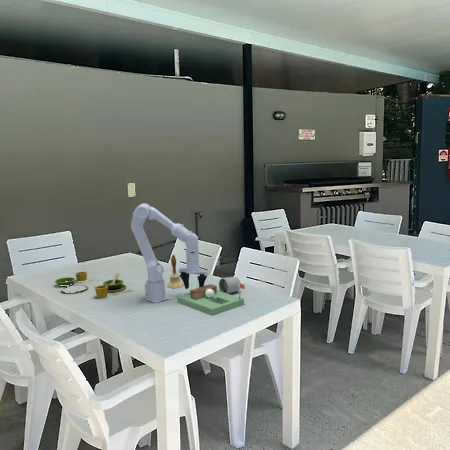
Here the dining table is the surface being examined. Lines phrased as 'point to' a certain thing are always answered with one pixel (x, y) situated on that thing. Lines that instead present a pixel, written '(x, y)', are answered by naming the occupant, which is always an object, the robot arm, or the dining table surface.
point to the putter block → (202, 291)
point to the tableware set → (100, 290)
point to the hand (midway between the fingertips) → (194, 289)
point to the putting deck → (213, 302)
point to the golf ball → (209, 293)
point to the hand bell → (174, 276)
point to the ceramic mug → (229, 284)
